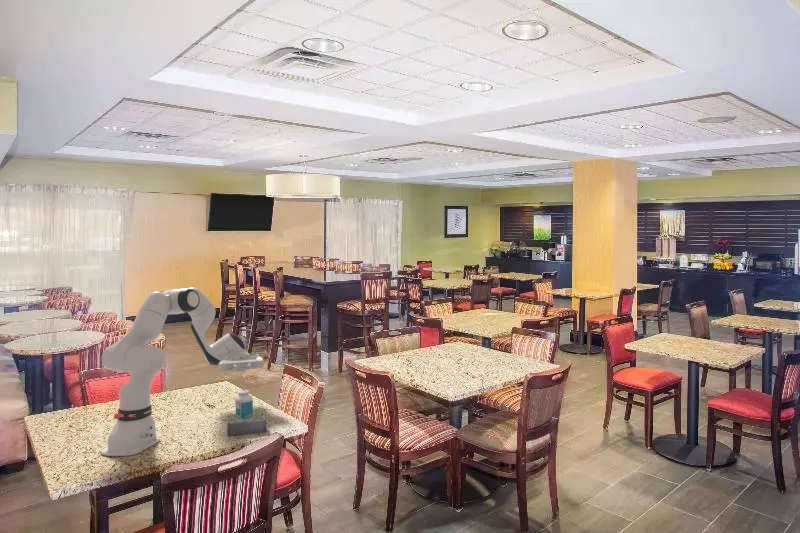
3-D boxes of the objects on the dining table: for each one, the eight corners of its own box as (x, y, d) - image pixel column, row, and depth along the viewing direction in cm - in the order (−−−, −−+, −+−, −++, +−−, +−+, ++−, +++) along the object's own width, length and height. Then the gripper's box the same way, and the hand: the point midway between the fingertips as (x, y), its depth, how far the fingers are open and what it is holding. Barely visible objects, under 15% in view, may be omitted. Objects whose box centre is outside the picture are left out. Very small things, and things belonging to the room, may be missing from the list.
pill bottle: (255, 418, 252) (255, 389, 252) (249, 424, 245) (249, 393, 244) (239, 418, 253) (239, 388, 252) (233, 423, 246) (232, 393, 245)
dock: (266, 431, 235) (266, 420, 235) (227, 436, 230) (227, 424, 230) (264, 426, 241) (264, 415, 241) (227, 430, 236) (227, 419, 236)
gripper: (217, 356, 265) (218, 363, 252) (262, 353, 272) (264, 359, 259) (218, 369, 266) (218, 376, 252) (262, 366, 272) (265, 373, 259)
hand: (242, 368), depth 256 cm, fingers open, 3 cm apart
